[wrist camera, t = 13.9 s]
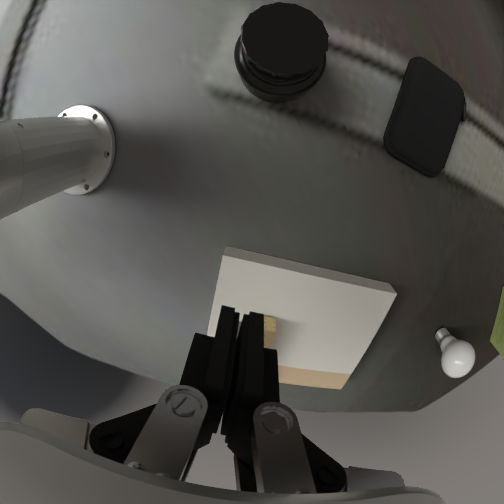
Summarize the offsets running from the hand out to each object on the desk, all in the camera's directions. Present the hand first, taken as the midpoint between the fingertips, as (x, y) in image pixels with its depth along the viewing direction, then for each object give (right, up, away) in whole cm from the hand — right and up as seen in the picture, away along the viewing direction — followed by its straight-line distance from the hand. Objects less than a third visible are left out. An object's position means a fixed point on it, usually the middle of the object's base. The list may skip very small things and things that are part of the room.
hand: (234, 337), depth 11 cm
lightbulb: (+35, -11, +31) cm, 48 cm away
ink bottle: (+4, +25, +17) cm, 30 cm away
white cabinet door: (+6, -8, +31) cm, 32 cm away
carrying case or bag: (+23, +21, +18) cm, 36 cm away
